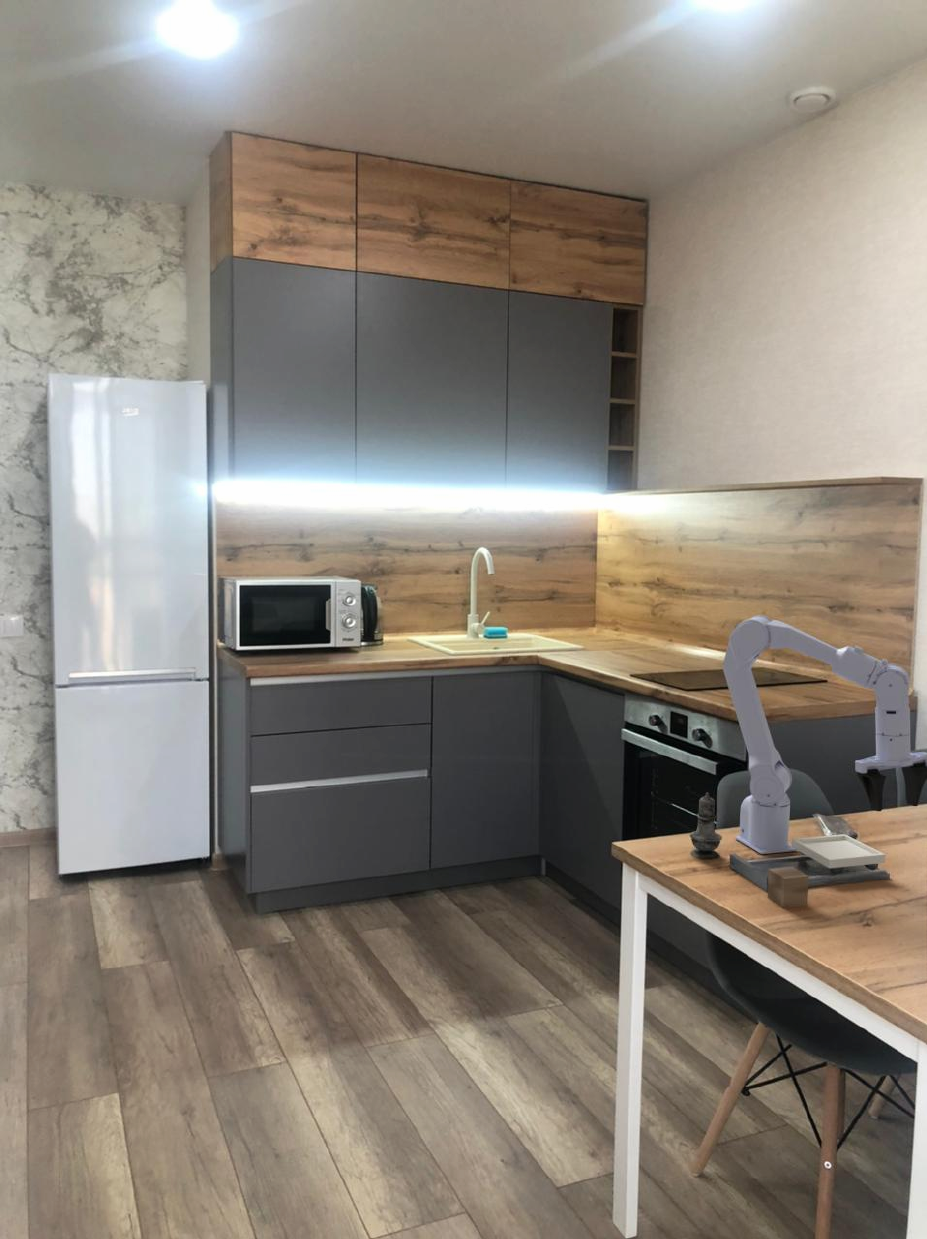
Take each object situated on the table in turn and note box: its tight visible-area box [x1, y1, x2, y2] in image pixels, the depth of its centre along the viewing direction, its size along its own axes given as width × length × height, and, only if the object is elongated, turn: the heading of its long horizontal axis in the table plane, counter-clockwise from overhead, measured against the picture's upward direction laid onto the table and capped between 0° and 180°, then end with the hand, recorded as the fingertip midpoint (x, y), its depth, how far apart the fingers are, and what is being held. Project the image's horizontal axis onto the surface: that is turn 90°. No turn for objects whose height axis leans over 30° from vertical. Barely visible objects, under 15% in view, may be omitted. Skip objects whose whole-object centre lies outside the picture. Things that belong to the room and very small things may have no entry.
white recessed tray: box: [791, 834, 886, 874], centre depth 179 cm, size 11×11×3 cm
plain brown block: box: [767, 867, 809, 908], centre depth 165 cm, size 4×4×5 cm
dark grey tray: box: [728, 853, 891, 893], centre depth 178 cm, size 12×24×2 cm, turn 106°
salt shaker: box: [689, 791, 723, 860], centre depth 186 cm, size 6×6×12 cm
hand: (894, 807), depth 181 cm, fingers open, 7 cm apart
